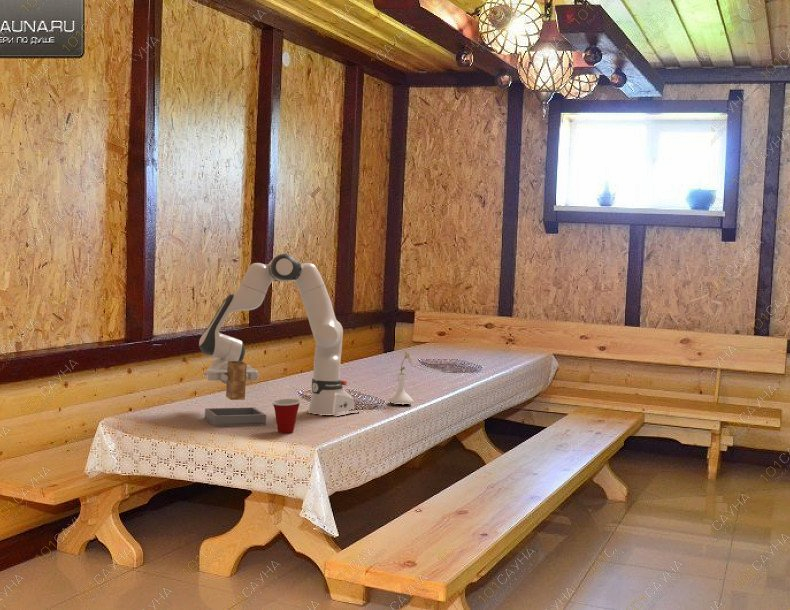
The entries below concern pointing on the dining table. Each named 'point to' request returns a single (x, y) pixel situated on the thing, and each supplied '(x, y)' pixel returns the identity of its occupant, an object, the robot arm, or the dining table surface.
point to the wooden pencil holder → (236, 380)
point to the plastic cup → (286, 414)
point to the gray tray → (235, 416)
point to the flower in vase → (401, 385)
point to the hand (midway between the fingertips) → (237, 378)
